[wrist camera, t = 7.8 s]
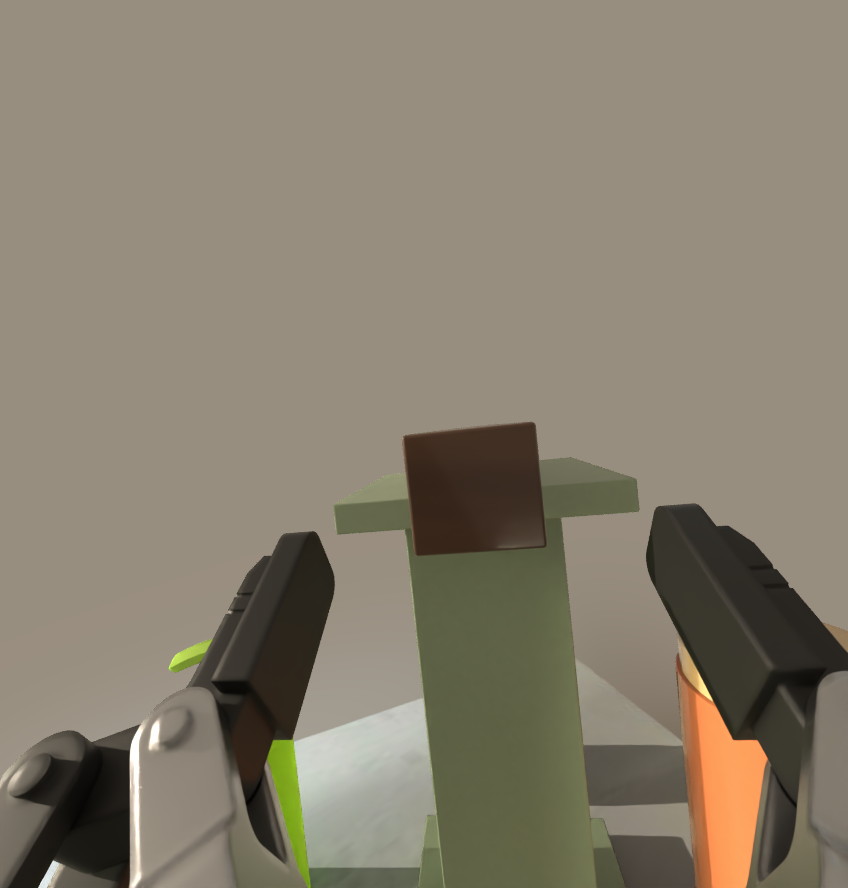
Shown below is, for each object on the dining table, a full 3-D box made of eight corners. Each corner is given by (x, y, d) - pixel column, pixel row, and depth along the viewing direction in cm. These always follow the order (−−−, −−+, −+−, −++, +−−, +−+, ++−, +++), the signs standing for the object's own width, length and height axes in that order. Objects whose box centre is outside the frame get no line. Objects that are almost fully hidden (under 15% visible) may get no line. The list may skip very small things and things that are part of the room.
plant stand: (708, 1160, 18) (647, 481, 17) (395, 1123, 19) (324, 508, 18) (605, 836, 31) (568, 456, 31) (428, 832, 33) (389, 473, 32)
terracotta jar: (709, 1094, 19) (671, 677, 19) (699, 899, 27) (673, 597, 26) (1014, 1293, 14) (978, 739, 14) (898, 986, 22) (871, 620, 21)
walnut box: (548, 548, 9) (536, 421, 9) (414, 558, 10) (400, 435, 10) (495, 460, 33) (491, 424, 33) (457, 464, 34) (453, 428, 34)
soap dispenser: (213, 896, 30) (180, 635, 30) (308, 853, 33) (279, 611, 32) (199, 995, 25) (158, 678, 24) (314, 936, 27) (280, 645, 26)
